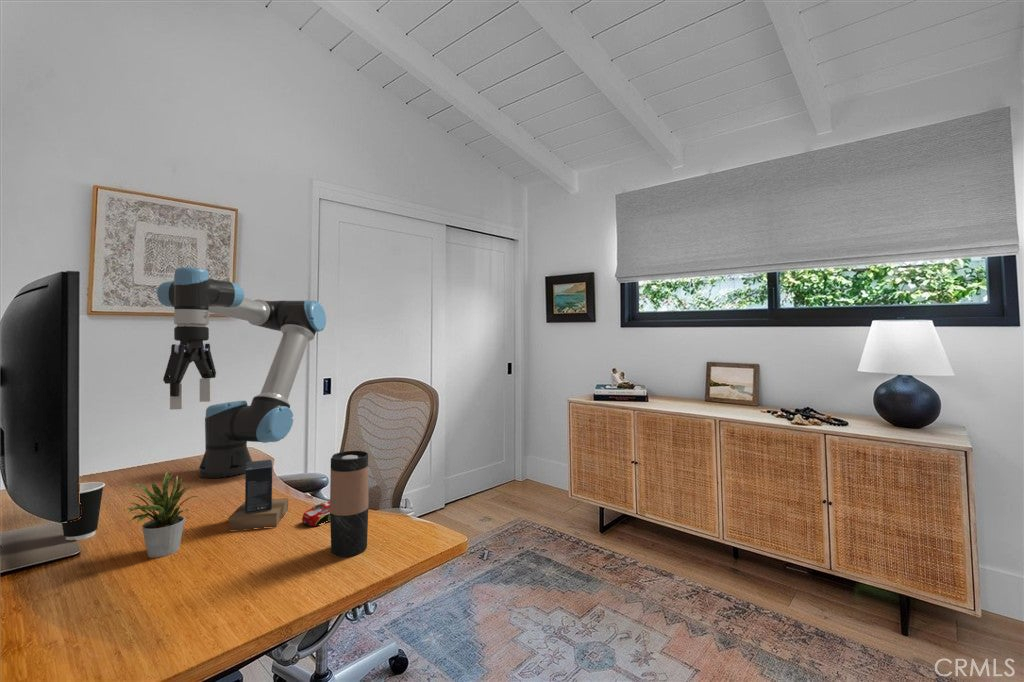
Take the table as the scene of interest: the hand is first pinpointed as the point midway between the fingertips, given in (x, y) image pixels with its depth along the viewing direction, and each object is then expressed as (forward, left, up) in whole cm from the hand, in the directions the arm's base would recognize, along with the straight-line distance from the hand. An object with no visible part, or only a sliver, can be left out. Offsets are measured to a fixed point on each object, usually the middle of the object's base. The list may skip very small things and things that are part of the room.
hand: (191, 405), depth 119 cm
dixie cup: (+18, -13, -27) cm, 35 cm away
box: (+14, +22, -23) cm, 35 cm away
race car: (+14, +39, -27) cm, 50 cm away
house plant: (+27, +8, -27) cm, 39 cm away
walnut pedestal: (+14, +23, -27) cm, 38 cm away
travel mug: (+32, +48, -27) cm, 63 cm away
